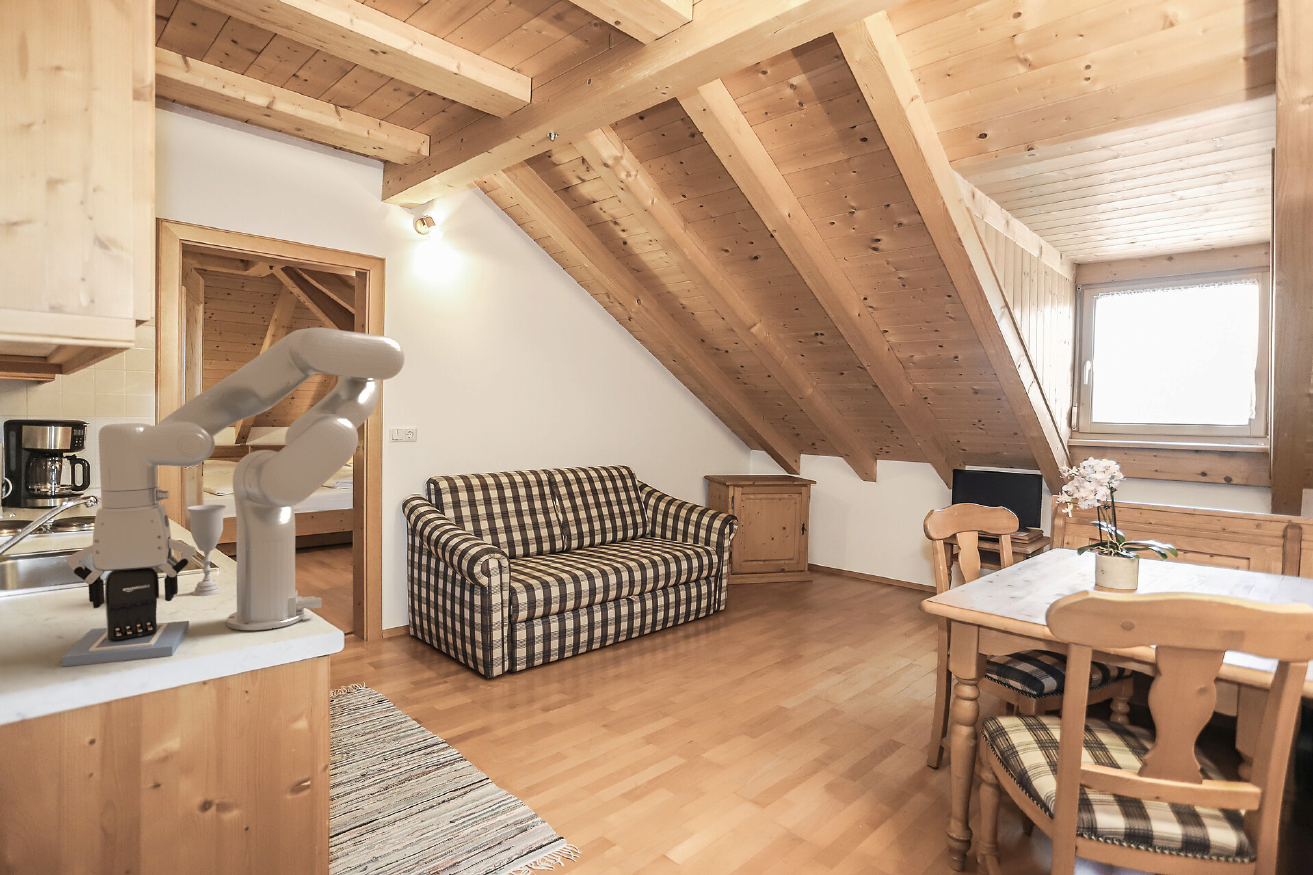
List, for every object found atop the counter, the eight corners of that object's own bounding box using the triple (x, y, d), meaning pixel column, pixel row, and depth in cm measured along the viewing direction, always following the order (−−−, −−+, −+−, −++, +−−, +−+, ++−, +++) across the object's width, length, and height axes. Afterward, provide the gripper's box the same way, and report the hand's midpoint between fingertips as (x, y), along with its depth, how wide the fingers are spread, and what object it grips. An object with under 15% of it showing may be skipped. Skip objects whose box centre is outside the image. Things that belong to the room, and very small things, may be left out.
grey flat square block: (189, 629, 127) (188, 619, 127) (172, 655, 114) (172, 644, 114) (91, 637, 121) (91, 627, 121) (62, 666, 108) (62, 654, 108)
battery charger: (110, 644, 114) (109, 573, 113) (104, 639, 116) (103, 569, 116) (161, 634, 119) (161, 566, 118) (155, 629, 122) (154, 563, 121)
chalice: (184, 591, 150) (184, 506, 150) (221, 586, 155) (221, 503, 154) (191, 598, 145) (190, 510, 144) (229, 593, 150) (229, 508, 149)
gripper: (197, 493, 123) (200, 590, 125) (72, 498, 116) (77, 602, 118) (188, 499, 117) (192, 602, 118) (55, 506, 110) (61, 615, 111)
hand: (135, 602), depth 118 cm, fingers open, 9 cm apart
